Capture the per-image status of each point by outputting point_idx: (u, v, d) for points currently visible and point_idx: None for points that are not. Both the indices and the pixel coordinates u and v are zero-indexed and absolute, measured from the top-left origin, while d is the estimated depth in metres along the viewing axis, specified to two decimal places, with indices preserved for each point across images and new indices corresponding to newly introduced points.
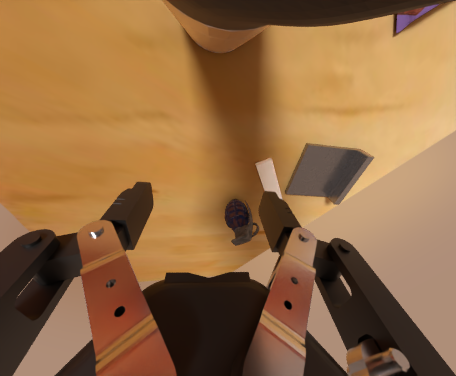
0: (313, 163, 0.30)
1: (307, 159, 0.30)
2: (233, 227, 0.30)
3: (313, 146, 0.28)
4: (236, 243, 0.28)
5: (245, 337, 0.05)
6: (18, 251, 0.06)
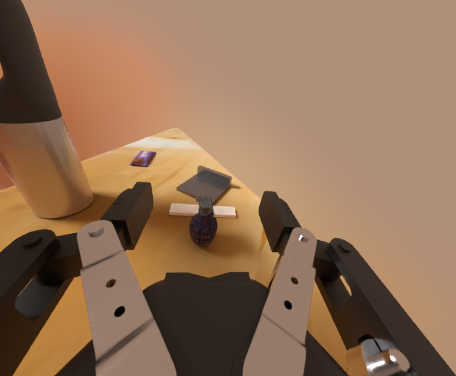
0: (192, 187, 0.44)
1: (187, 189, 0.43)
2: (199, 217, 0.26)
3: (179, 186, 0.44)
4: (207, 205, 0.25)
5: (245, 337, 0.05)
6: (18, 251, 0.06)
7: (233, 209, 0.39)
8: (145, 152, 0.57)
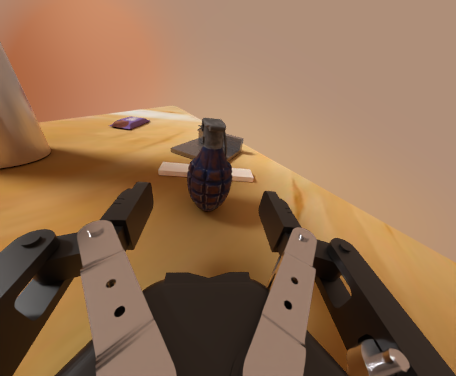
0: (192, 149, 0.33)
1: (184, 150, 0.32)
2: (204, 152, 0.15)
3: (174, 147, 0.33)
4: (218, 124, 0.14)
5: (245, 337, 0.05)
6: (18, 251, 0.06)
7: (249, 171, 0.28)
8: (135, 117, 0.46)
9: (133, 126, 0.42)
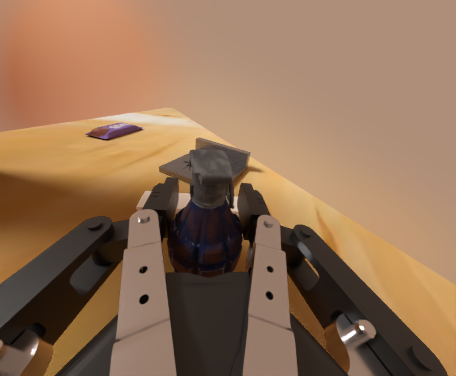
0: (187, 167, 0.26)
1: (176, 170, 0.25)
2: (193, 213, 0.08)
3: (164, 165, 0.26)
4: (217, 169, 0.07)
5: (236, 343, 0.04)
6: (83, 232, 0.07)
7: None
8: (124, 124, 0.39)
9: (114, 135, 0.35)
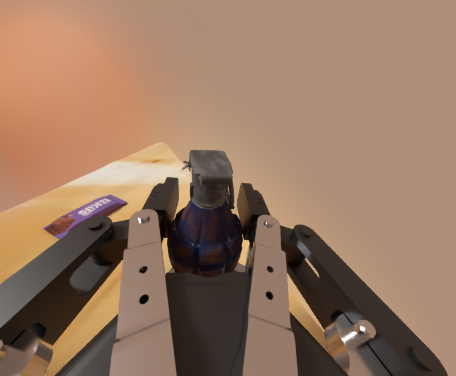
0: None
1: None
2: (193, 213, 0.08)
3: None
4: (217, 170, 0.07)
5: (236, 343, 0.04)
6: (83, 232, 0.07)
7: None
8: (101, 202, 0.32)
9: None
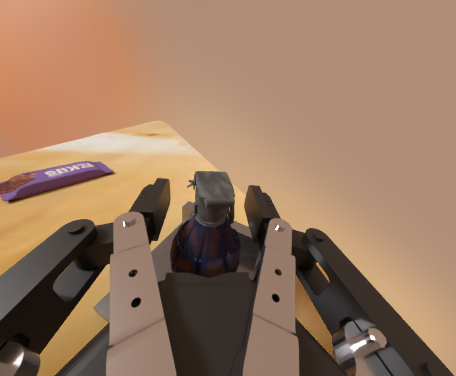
0: None
1: None
2: (196, 230, 0.09)
3: (109, 295, 0.12)
4: (221, 194, 0.08)
5: (239, 341, 0.05)
6: (64, 237, 0.06)
7: None
8: (80, 166, 0.25)
9: (34, 191, 0.21)
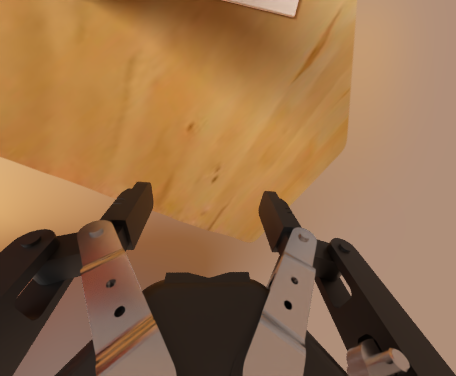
0: None
1: None
2: None
3: None
4: None
5: (245, 337, 0.05)
6: (18, 251, 0.06)
7: None
8: None
9: None
